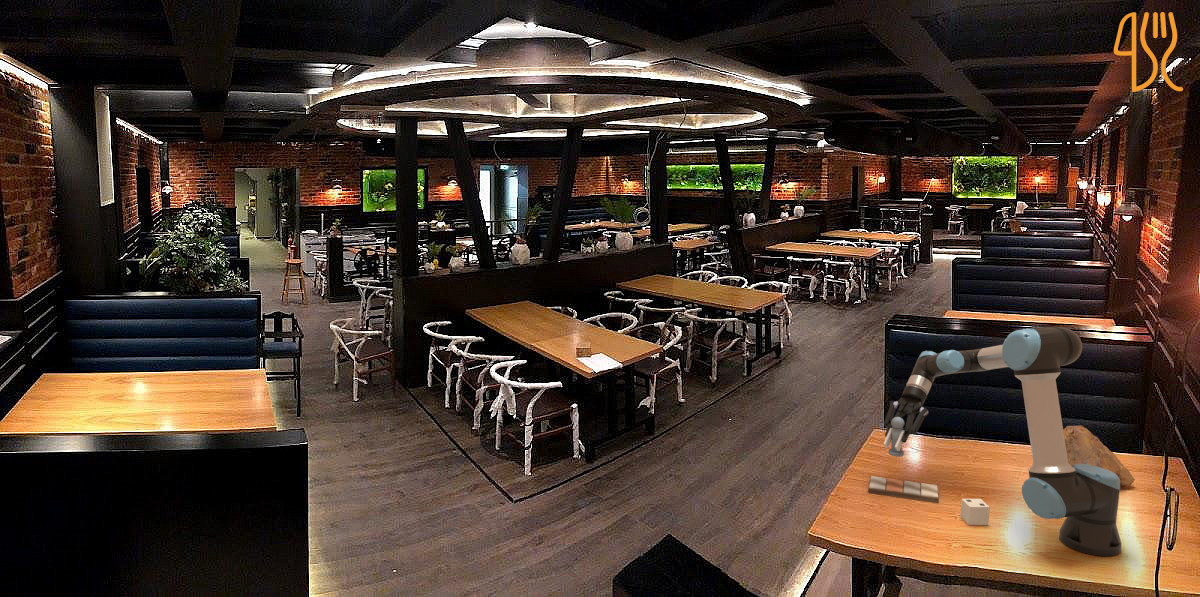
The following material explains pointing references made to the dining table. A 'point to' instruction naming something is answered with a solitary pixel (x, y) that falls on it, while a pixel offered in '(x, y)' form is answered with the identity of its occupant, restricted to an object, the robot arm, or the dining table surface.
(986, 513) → the die
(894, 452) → the pawn
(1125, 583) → the dining table surface
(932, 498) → the board
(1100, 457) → the rock
